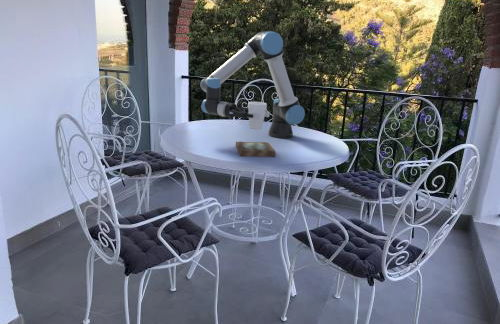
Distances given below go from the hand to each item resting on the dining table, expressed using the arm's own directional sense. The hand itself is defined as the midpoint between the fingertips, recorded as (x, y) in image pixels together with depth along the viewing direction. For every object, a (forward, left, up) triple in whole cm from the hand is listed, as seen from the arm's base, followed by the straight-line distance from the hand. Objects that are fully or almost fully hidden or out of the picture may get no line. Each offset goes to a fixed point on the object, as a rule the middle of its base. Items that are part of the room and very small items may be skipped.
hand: (264, 115), depth 208 cm
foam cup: (+3, -3, -7) cm, 9 cm away
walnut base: (+3, -3, -20) cm, 20 cm away
